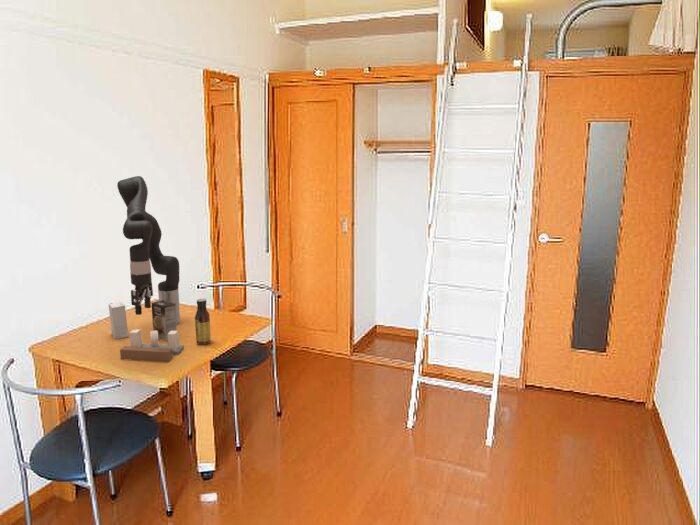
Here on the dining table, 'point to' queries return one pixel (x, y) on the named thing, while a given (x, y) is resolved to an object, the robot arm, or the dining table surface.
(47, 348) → the dining table surface
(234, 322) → the dining table surface
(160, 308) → the coffee box
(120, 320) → the skincare box
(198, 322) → the sauce bottle
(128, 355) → the frame bar
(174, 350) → the stand
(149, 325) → the dining table surface
